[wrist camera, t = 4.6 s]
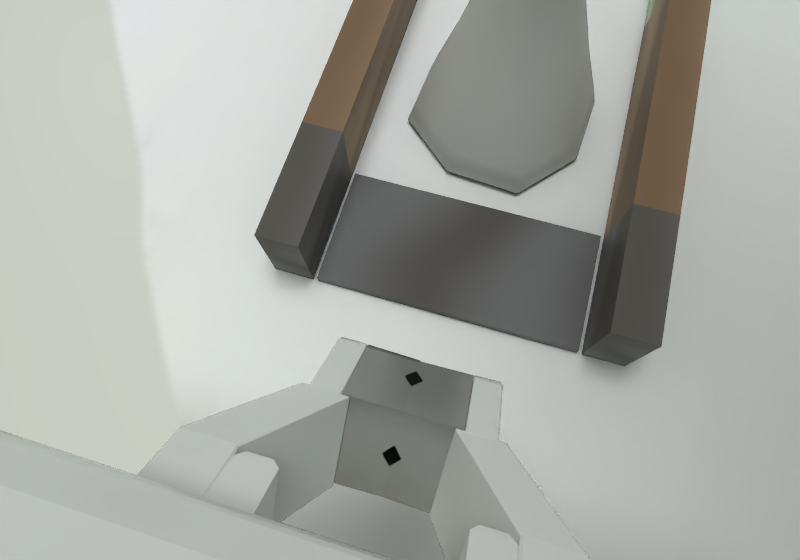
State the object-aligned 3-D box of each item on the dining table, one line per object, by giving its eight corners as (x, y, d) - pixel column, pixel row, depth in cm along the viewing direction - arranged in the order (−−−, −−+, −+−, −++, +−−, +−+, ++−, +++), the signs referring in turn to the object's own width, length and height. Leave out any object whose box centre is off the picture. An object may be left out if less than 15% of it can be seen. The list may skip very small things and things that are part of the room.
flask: (482, 18, 25) (524, -264, 15) (623, 103, 23) (767, -156, 14) (377, 126, 23) (353, -119, 14) (521, 226, 21) (608, 25, 12)
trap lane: (708, -147, 28) (742, -217, 25) (624, 366, 19) (661, 346, 17) (458, -190, 29) (462, -261, 27) (275, 268, 21) (254, 235, 18)
